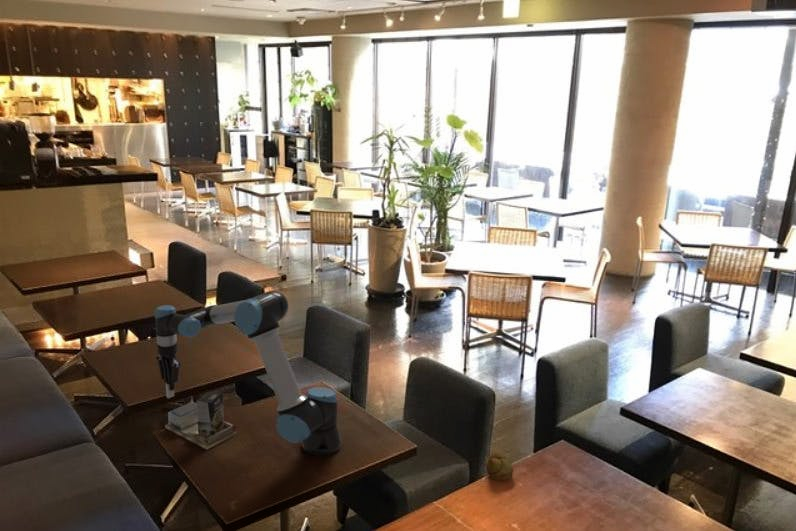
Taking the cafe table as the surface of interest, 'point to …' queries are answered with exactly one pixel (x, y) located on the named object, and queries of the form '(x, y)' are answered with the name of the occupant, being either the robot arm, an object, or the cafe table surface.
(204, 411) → the coffee box
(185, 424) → the housing
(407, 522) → the cafe table surface
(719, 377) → the cafe table surface
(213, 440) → the silver tray
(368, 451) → the cafe table surface
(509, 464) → the olive snail shell
